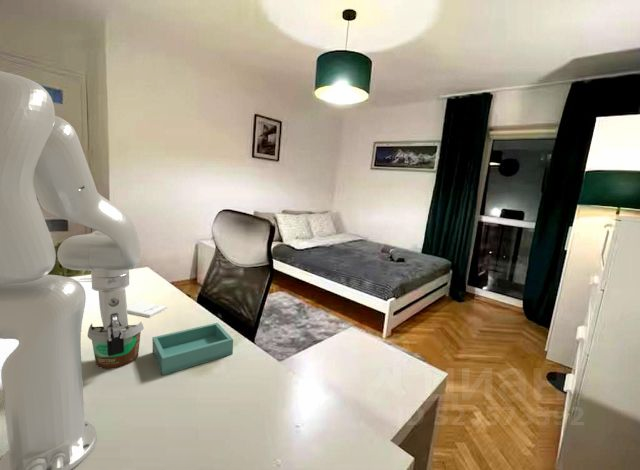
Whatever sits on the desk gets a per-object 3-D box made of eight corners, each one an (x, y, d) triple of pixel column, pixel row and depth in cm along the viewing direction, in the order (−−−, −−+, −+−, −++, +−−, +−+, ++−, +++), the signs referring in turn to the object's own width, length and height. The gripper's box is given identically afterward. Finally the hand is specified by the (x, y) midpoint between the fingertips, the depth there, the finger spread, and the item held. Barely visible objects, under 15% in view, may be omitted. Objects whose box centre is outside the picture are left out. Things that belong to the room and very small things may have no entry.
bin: (232, 354, 85) (233, 339, 85) (162, 375, 74) (162, 358, 73) (217, 336, 94) (217, 322, 94) (152, 352, 83) (152, 337, 82)
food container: (79, 374, 72) (77, 335, 71) (90, 359, 78) (89, 323, 76) (137, 369, 75) (136, 332, 74) (144, 356, 81) (143, 321, 80)
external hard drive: (139, 304, 114) (167, 310, 111) (120, 312, 106) (150, 319, 103) (139, 300, 114) (167, 305, 111) (120, 308, 106) (150, 314, 103)
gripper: (134, 289, 69) (136, 356, 72) (124, 268, 82) (126, 326, 85) (93, 294, 64) (97, 367, 67) (90, 272, 78) (93, 333, 81)
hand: (113, 344), depth 76 cm, fingers open, 9 cm apart
